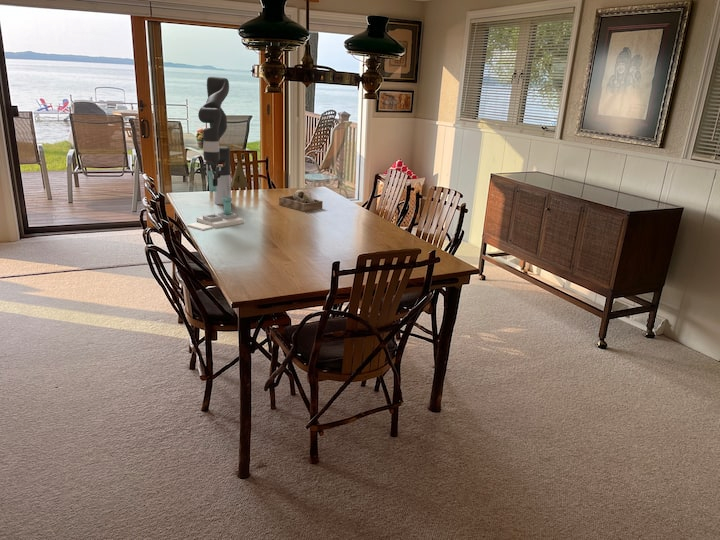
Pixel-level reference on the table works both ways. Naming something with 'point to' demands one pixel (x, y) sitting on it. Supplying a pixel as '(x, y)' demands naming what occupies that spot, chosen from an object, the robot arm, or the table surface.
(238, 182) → the pyramid
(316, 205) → the brown wooden tray
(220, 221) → the housing
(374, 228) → the table surface
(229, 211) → the teal flared handle
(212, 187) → the teal round-knobbed peg
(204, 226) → the lid
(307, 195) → the animal skull replica
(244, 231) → the table surface
